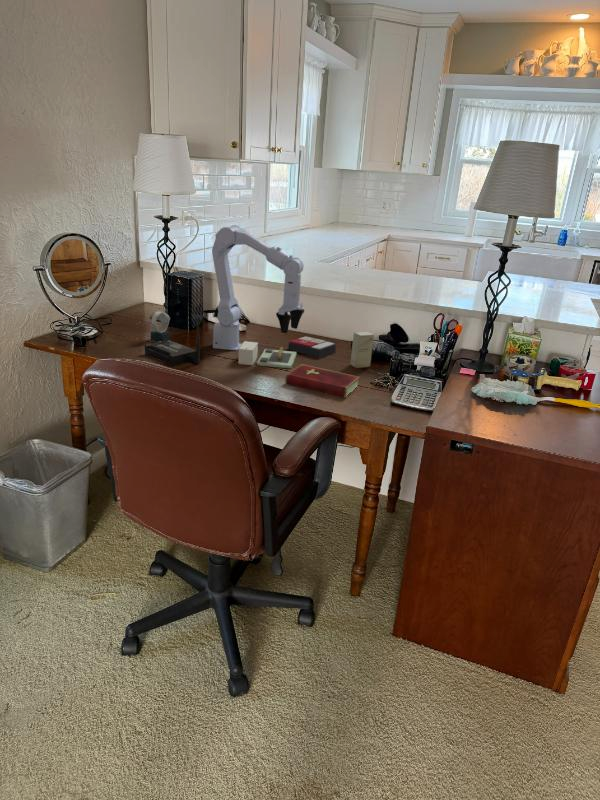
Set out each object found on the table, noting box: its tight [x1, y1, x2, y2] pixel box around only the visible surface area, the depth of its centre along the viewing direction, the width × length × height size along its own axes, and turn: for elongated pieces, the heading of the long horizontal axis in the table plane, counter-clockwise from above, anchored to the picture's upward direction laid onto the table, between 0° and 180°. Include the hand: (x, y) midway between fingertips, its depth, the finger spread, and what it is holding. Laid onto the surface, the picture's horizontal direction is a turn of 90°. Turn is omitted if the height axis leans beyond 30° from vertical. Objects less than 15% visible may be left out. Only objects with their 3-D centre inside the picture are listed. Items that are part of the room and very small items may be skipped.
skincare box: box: [349, 331, 375, 369], centre depth 200 cm, size 6×4×12 cm
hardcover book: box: [284, 363, 361, 399], centre depth 181 cm, size 12×21×4 cm, turn 64°
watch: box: [150, 310, 171, 342], centre depth 212 cm, size 6×8×11 cm
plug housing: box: [238, 340, 259, 366], centre depth 198 cm, size 5×9×6 cm, turn 173°
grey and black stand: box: [144, 316, 201, 367], centre depth 193 cm, size 20×14×17 cm
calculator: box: [287, 336, 337, 359], centre depth 214 cm, size 11×4×15 cm
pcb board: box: [256, 346, 298, 370], centre depth 201 cm, size 12×16×4 cm
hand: (289, 330), depth 203 cm, fingers open, 7 cm apart
